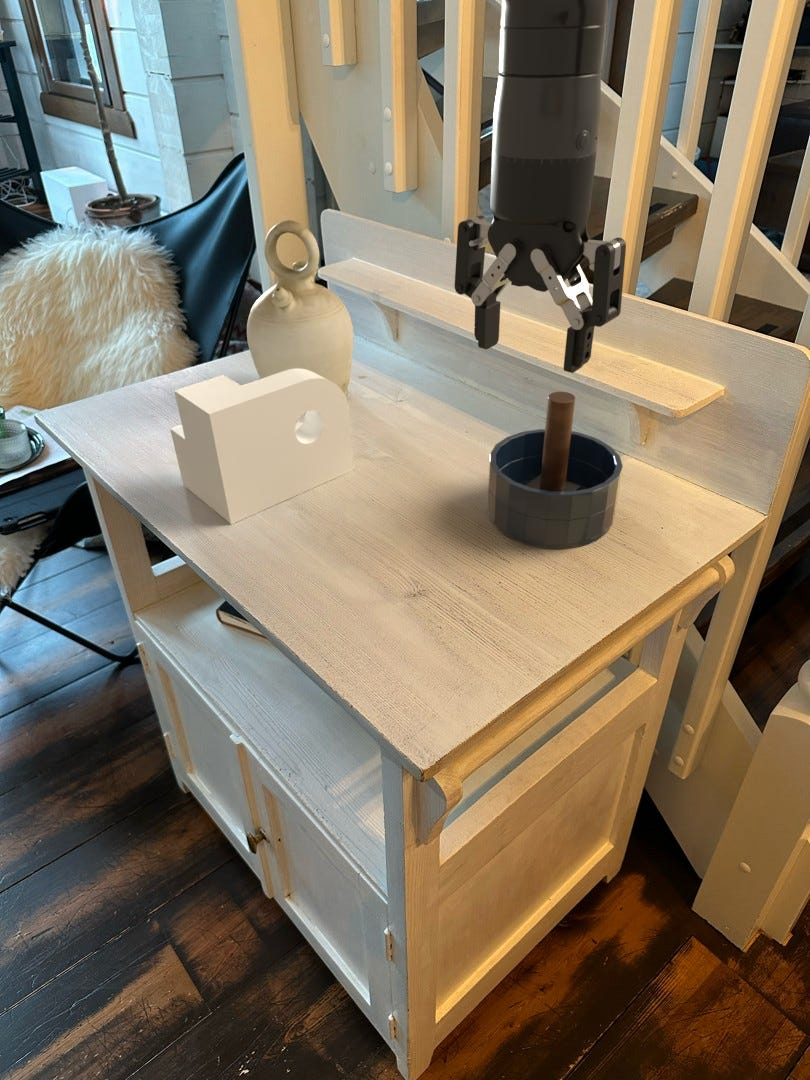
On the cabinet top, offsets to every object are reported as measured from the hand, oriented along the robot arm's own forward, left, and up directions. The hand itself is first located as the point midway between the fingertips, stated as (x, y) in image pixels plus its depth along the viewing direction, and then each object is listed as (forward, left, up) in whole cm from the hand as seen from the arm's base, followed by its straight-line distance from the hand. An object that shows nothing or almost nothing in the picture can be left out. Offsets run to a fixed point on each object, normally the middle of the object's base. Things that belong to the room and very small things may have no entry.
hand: (529, 357), depth 64 cm
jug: (+49, -18, -24) cm, 58 cm away
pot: (+3, -13, -24) cm, 27 cm away
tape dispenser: (+35, +2, -24) cm, 43 cm away
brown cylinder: (+3, -13, -24) cm, 27 cm away
